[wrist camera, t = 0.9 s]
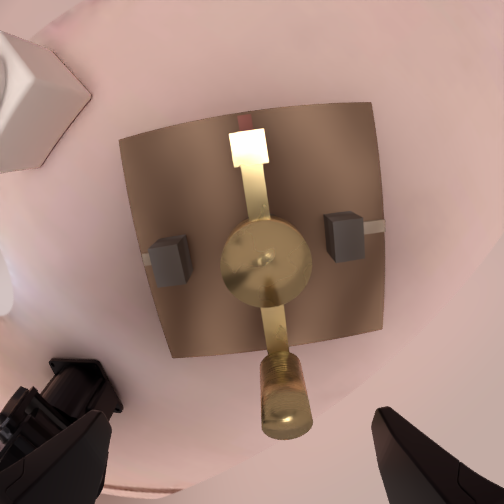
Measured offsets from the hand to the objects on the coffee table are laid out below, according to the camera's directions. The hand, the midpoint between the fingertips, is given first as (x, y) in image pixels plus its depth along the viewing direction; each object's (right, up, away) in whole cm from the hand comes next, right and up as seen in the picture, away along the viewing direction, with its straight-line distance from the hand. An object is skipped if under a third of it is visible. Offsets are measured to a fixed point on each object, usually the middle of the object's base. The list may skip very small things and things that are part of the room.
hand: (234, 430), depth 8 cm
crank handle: (+1, +5, +8) cm, 9 cm away
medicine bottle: (-16, +17, +9) cm, 24 cm away
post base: (+1, +6, +12) cm, 13 cm away
